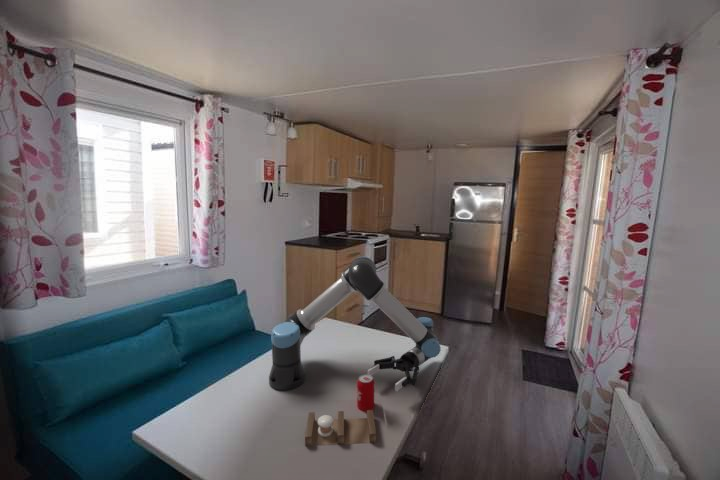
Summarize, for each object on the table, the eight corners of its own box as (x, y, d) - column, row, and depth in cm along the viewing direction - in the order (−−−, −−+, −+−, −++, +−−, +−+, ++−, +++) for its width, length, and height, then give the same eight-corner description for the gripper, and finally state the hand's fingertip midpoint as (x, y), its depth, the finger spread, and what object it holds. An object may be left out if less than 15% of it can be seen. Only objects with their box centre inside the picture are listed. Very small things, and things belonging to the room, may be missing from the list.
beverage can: (364, 400, 119) (364, 371, 117) (377, 407, 115) (377, 377, 113) (353, 409, 114) (353, 378, 112) (367, 416, 110) (367, 385, 109)
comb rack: (305, 448, 96) (304, 436, 96) (309, 423, 107) (308, 412, 106) (376, 445, 97) (376, 433, 97) (372, 420, 108) (372, 409, 108)
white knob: (317, 437, 99) (317, 426, 99) (318, 426, 104) (318, 415, 104) (333, 437, 99) (332, 425, 99) (333, 425, 104) (333, 414, 104)
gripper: (437, 378, 128) (408, 403, 112) (389, 357, 144) (358, 377, 129) (438, 361, 127) (408, 384, 111) (389, 342, 143) (357, 360, 128)
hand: (381, 380), depth 120 cm, fingers open, 13 cm apart
